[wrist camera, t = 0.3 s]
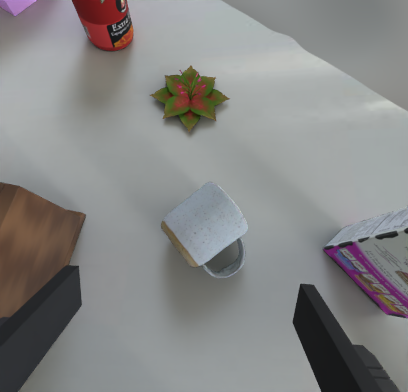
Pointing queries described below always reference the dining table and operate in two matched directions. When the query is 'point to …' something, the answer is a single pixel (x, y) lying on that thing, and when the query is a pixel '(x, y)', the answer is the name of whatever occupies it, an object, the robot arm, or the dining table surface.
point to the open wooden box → (32, 244)
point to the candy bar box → (377, 259)
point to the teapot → (15, 5)
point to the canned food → (106, 22)
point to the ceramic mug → (207, 228)
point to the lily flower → (189, 97)
